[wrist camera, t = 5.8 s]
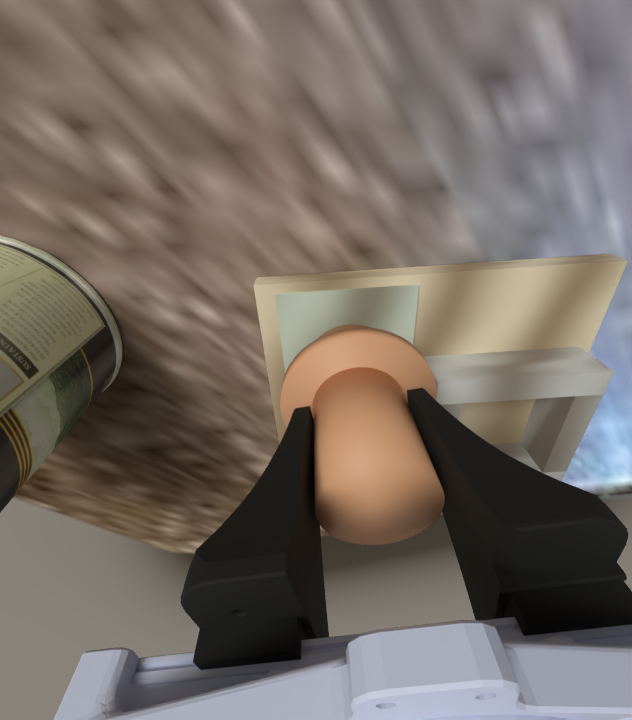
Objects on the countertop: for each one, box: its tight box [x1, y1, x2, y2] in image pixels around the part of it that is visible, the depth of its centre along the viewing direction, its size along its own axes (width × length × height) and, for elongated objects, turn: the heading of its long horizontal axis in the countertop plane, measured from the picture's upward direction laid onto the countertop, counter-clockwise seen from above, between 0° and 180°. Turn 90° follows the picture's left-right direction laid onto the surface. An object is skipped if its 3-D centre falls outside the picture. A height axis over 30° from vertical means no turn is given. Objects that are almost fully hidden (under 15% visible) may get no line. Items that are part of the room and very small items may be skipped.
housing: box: [254, 254, 628, 481], centre depth 19 cm, size 18×14×4 cm
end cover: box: [280, 324, 445, 545], centre depth 14 cm, size 7×7×8 cm
